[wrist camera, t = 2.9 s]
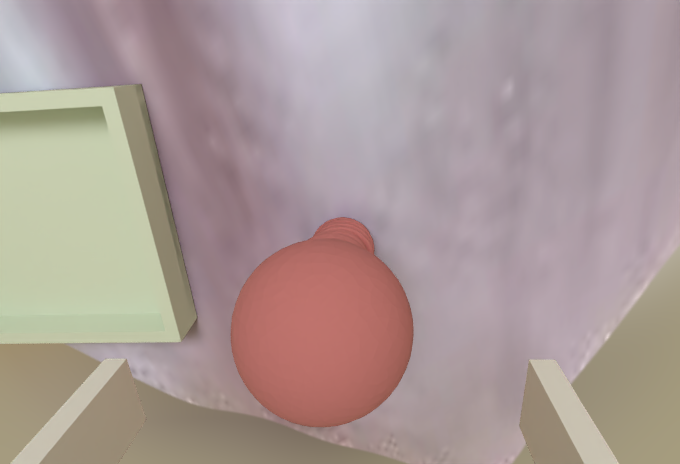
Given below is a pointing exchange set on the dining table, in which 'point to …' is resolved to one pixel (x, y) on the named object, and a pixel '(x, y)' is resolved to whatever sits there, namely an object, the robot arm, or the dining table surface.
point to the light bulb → (323, 328)
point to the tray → (86, 222)
